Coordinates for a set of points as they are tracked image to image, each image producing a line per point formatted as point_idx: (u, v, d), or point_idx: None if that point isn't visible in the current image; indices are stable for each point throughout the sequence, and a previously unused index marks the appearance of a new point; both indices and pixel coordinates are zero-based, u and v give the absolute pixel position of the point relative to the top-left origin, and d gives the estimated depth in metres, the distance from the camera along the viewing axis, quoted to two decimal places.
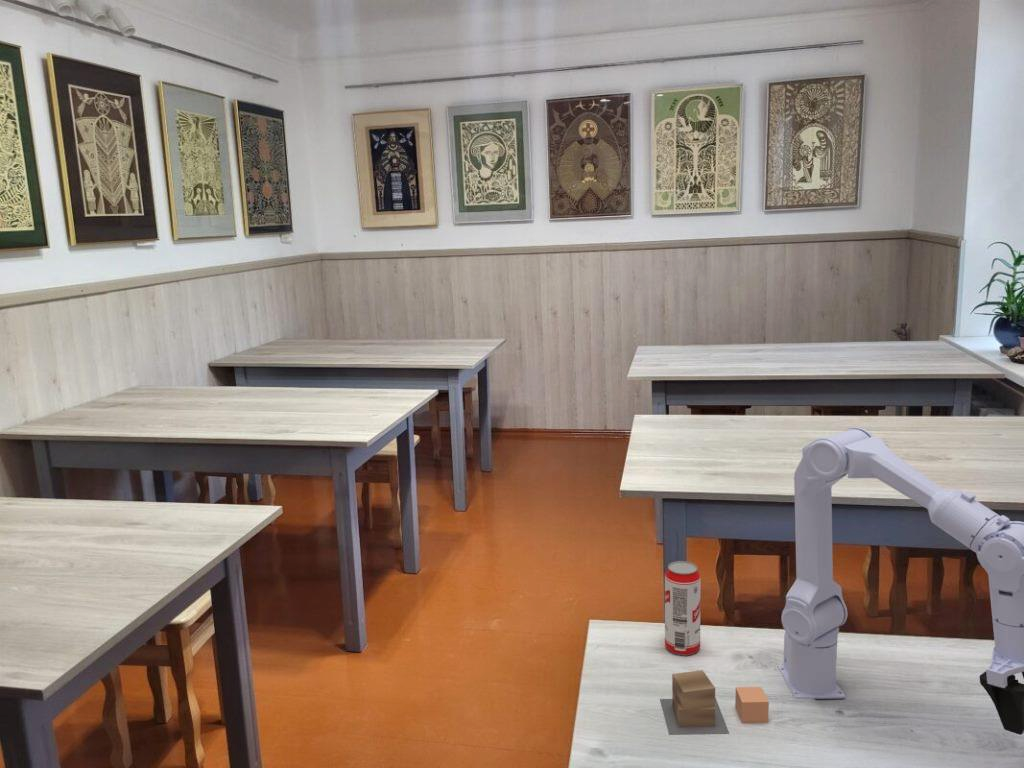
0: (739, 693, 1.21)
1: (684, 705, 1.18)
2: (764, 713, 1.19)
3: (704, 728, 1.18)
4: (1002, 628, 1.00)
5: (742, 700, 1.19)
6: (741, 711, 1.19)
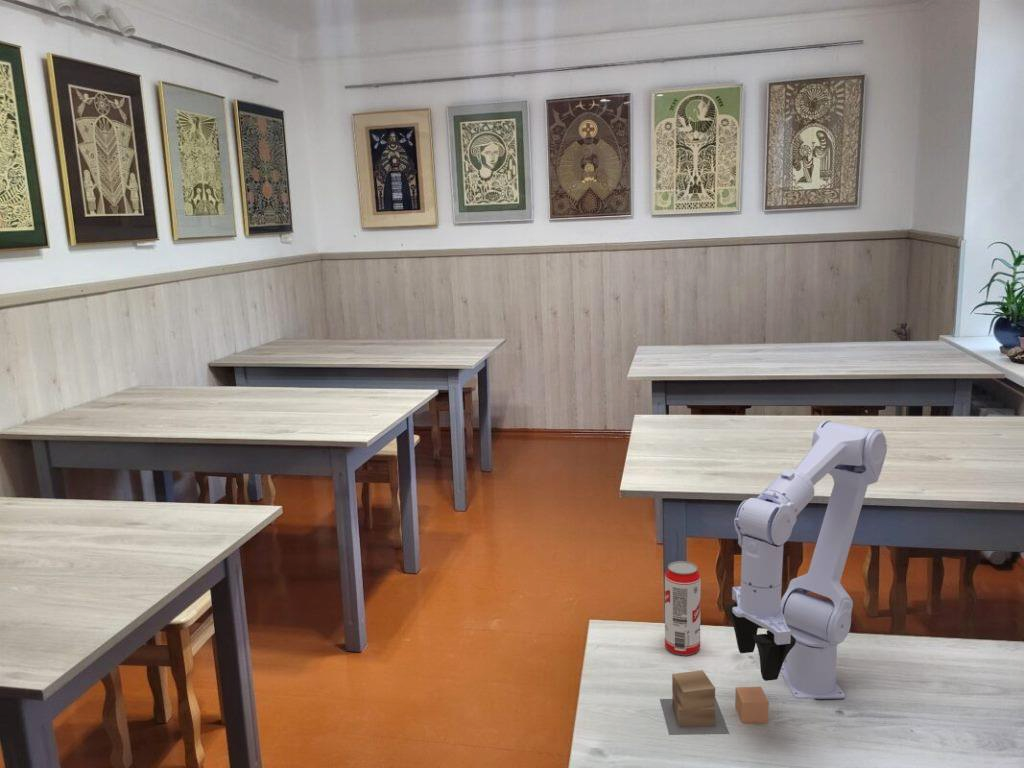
0: (739, 693, 1.21)
1: (684, 705, 1.18)
2: (764, 713, 1.19)
3: (704, 728, 1.18)
4: None
5: (742, 700, 1.19)
6: (741, 711, 1.19)
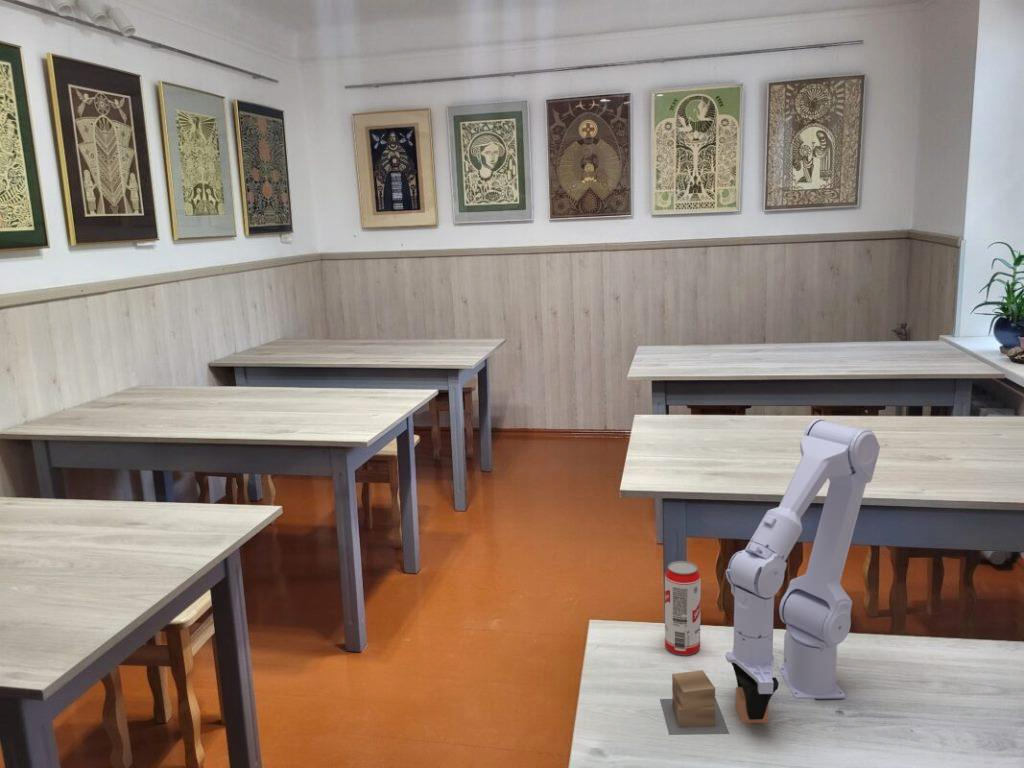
0: (739, 693, 1.21)
1: (684, 705, 1.18)
2: None
3: (704, 728, 1.18)
4: None
5: (742, 700, 1.19)
6: (741, 711, 1.19)
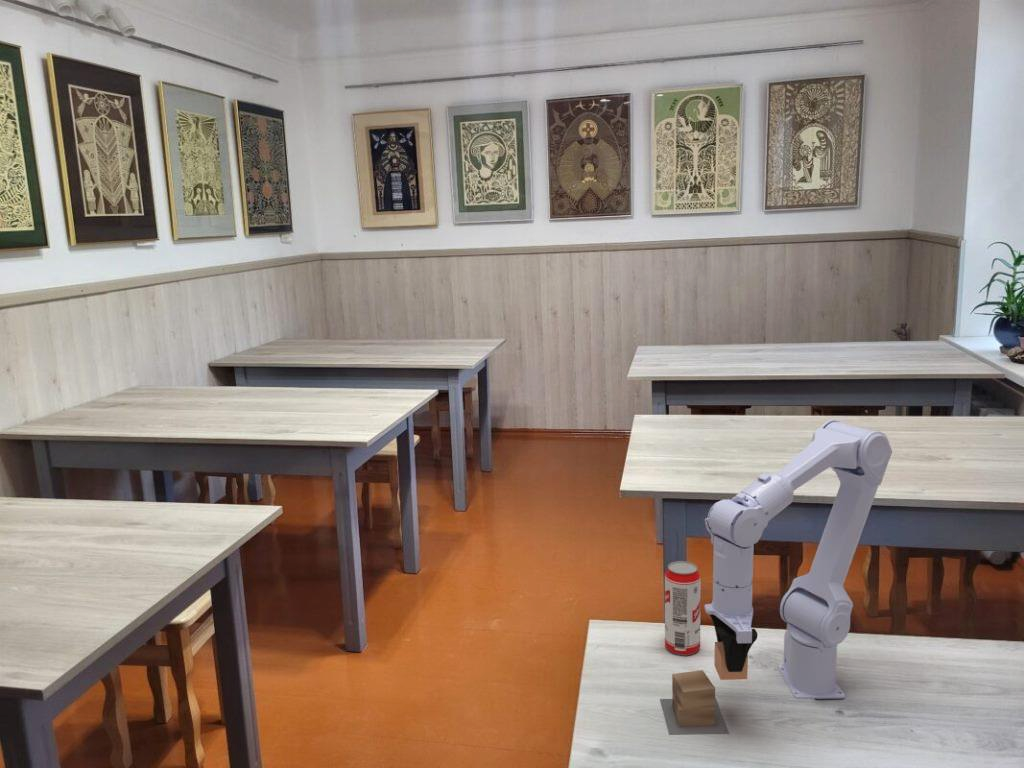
0: (718, 647, 1.19)
1: (684, 705, 1.18)
2: None
3: (704, 728, 1.18)
4: None
5: (721, 654, 1.17)
6: (720, 665, 1.18)
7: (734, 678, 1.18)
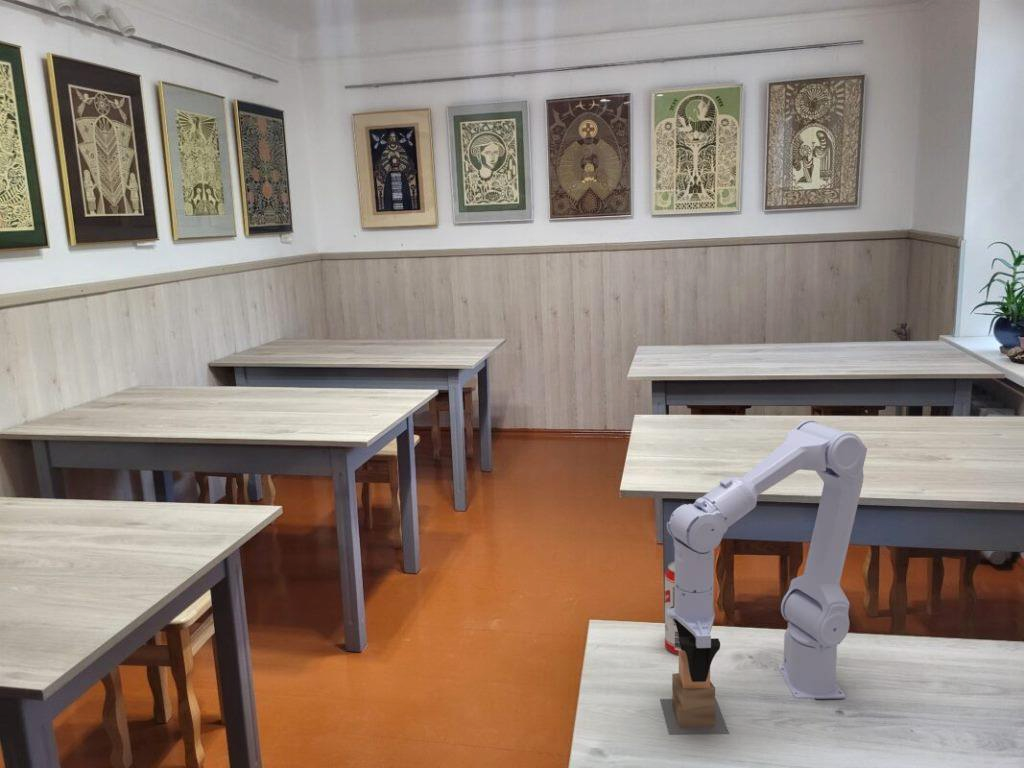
0: (681, 656, 1.20)
1: (684, 705, 1.18)
2: None
3: (704, 728, 1.18)
4: None
5: (684, 662, 1.18)
6: (683, 673, 1.18)
7: (697, 686, 1.18)
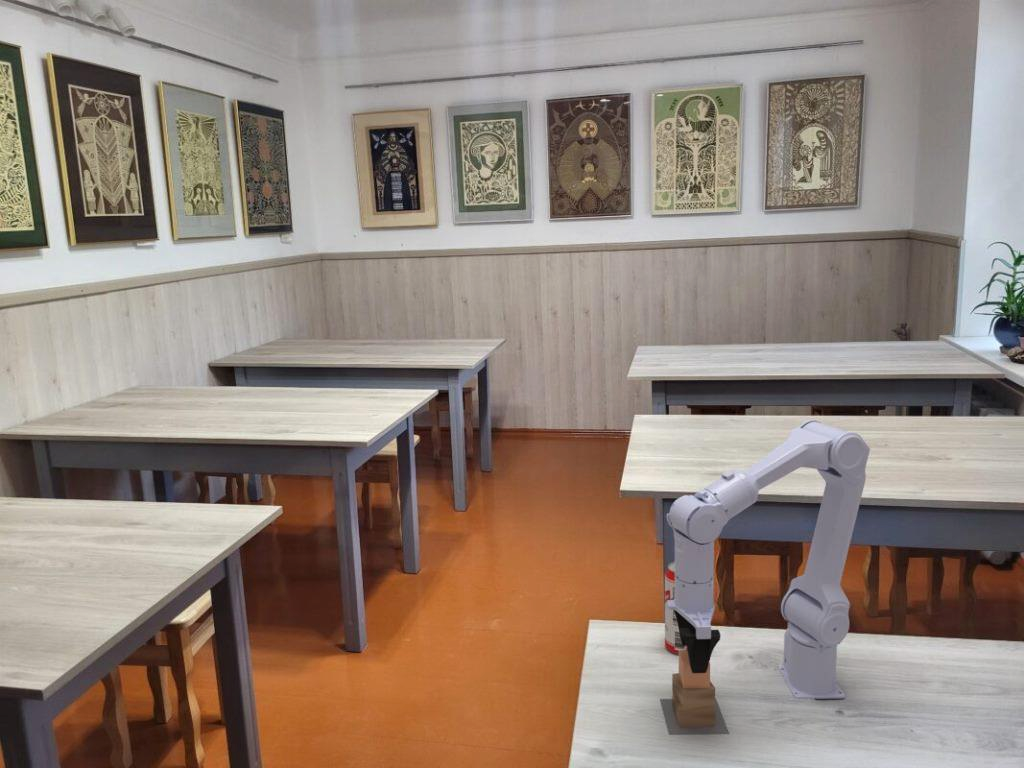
0: (681, 656, 1.20)
1: (684, 705, 1.18)
2: (706, 675, 1.18)
3: (704, 728, 1.18)
4: None
5: (684, 662, 1.18)
6: (683, 673, 1.18)
7: (697, 686, 1.18)
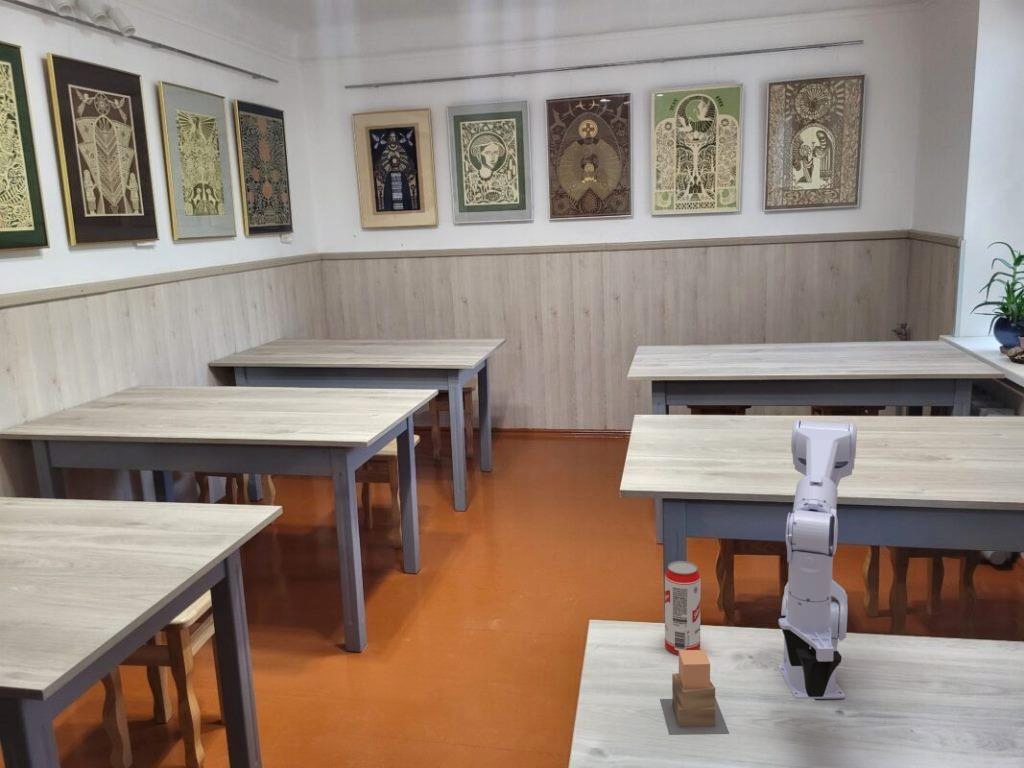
0: (681, 656, 1.20)
1: (684, 705, 1.18)
2: (706, 675, 1.18)
3: (704, 728, 1.18)
4: None
5: (684, 662, 1.18)
6: (683, 673, 1.18)
7: (697, 686, 1.18)
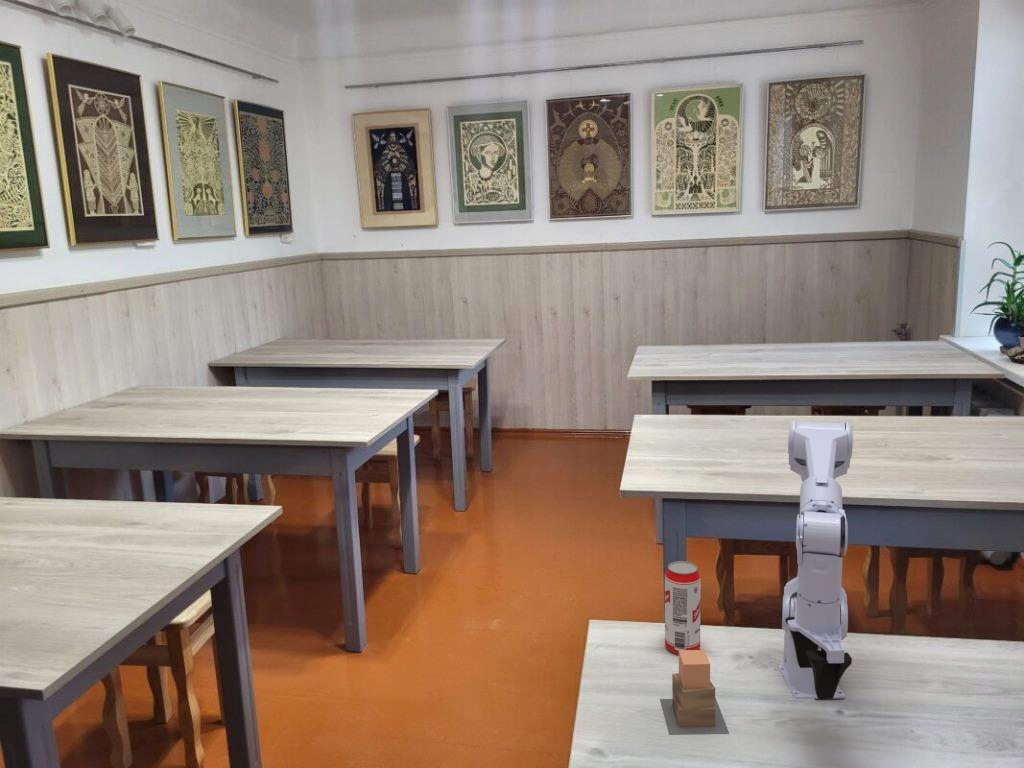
0: (681, 656, 1.20)
1: (684, 705, 1.18)
2: (706, 675, 1.18)
3: (704, 728, 1.18)
4: None
5: (684, 662, 1.18)
6: (683, 673, 1.18)
7: (697, 686, 1.18)
